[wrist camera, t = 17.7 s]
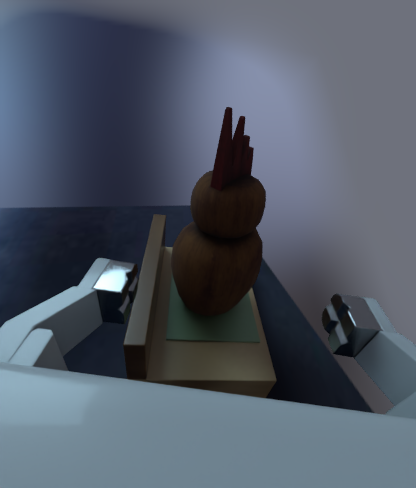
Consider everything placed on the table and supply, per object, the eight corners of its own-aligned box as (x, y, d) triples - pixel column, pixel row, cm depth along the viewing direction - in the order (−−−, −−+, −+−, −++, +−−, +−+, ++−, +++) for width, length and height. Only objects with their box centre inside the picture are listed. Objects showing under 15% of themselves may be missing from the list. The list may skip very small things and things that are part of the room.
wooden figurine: (191, 340, 18) (228, 117, 9) (159, 287, 22) (164, 91, 13) (258, 308, 22) (333, 121, 13) (221, 266, 25) (259, 99, 16)
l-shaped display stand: (237, 271, 30) (251, 222, 26) (265, 399, 19) (297, 349, 15) (153, 266, 29) (153, 213, 24) (129, 399, 17) (122, 345, 13)
